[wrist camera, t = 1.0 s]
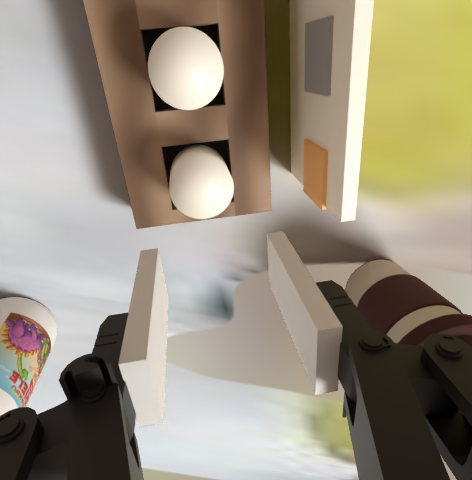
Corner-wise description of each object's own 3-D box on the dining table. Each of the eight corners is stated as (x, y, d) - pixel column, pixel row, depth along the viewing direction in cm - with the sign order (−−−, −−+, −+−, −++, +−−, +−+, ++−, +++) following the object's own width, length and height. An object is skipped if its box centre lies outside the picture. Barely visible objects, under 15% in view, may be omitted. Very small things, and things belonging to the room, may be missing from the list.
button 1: (175, 203, 31) (174, 222, 27) (165, 148, 28) (164, 161, 25) (229, 196, 31) (236, 214, 27) (224, 141, 29) (231, 153, 25)
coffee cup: (335, 324, 44) (402, 435, 31) (330, 259, 40) (406, 357, 27) (409, 305, 45) (506, 407, 32) (413, 238, 40) (528, 325, 27)
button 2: (158, 106, 27) (155, 113, 23) (146, 34, 25) (140, 29, 21) (220, 100, 27) (226, 106, 24) (213, 29, 25) (219, 23, 21)
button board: (140, 211, 34) (136, 228, 30) (65, -127, 23) (45, -161, 19) (262, 195, 35) (271, 210, 32) (246, -134, 24) (258, -168, 20)
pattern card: (288, 175, 34) (336, 225, 24) (284, -101, 25) (362, -220, 14) (300, 173, 35) (354, 222, 24) (302, -102, 25) (392, -220, 15)
